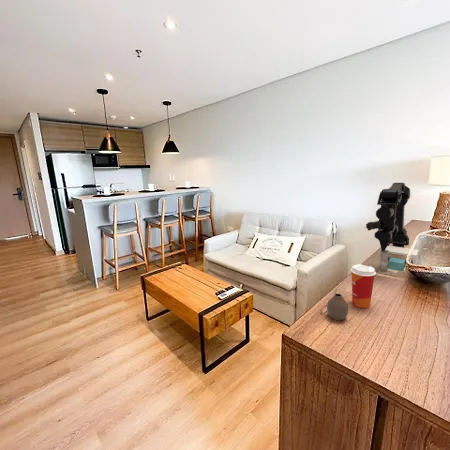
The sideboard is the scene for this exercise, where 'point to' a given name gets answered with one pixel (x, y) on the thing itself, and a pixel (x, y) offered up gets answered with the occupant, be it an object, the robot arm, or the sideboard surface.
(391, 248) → the tunnel
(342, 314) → the vase
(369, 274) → the coffee cup
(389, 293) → the sideboard surface
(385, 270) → the sled
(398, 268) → the block
